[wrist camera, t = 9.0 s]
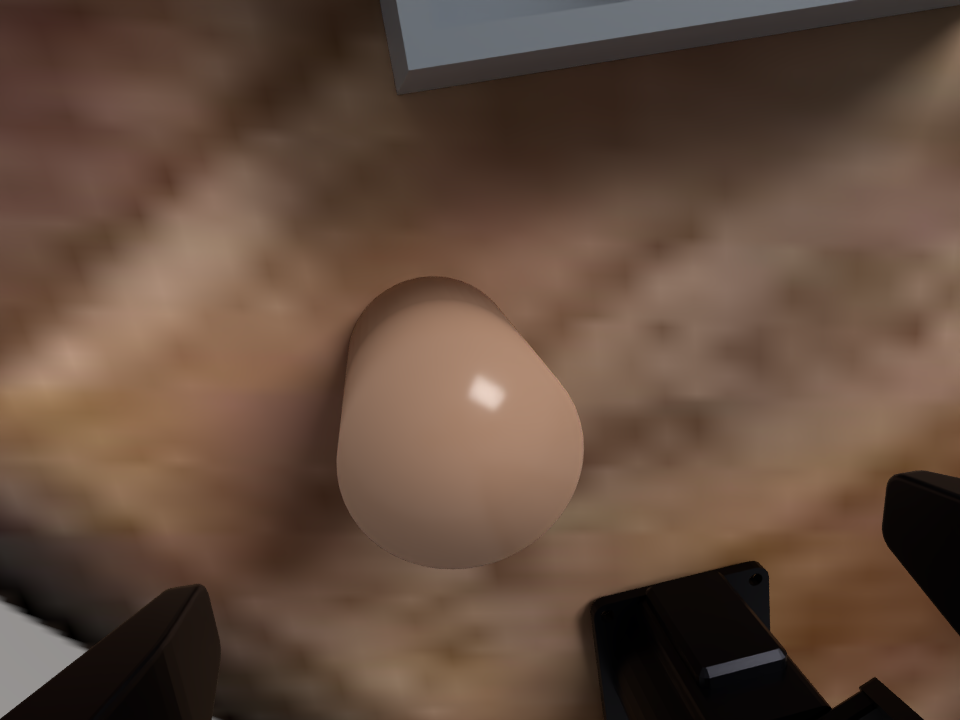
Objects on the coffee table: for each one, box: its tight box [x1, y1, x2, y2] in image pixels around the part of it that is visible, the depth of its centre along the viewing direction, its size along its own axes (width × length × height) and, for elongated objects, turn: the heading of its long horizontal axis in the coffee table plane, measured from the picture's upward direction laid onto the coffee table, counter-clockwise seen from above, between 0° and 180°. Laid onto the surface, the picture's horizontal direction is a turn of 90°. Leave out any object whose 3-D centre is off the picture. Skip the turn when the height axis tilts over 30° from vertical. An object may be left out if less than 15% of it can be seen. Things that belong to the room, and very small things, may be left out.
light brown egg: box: [336, 277, 584, 569], centre depth 17 cm, size 5×5×7 cm
